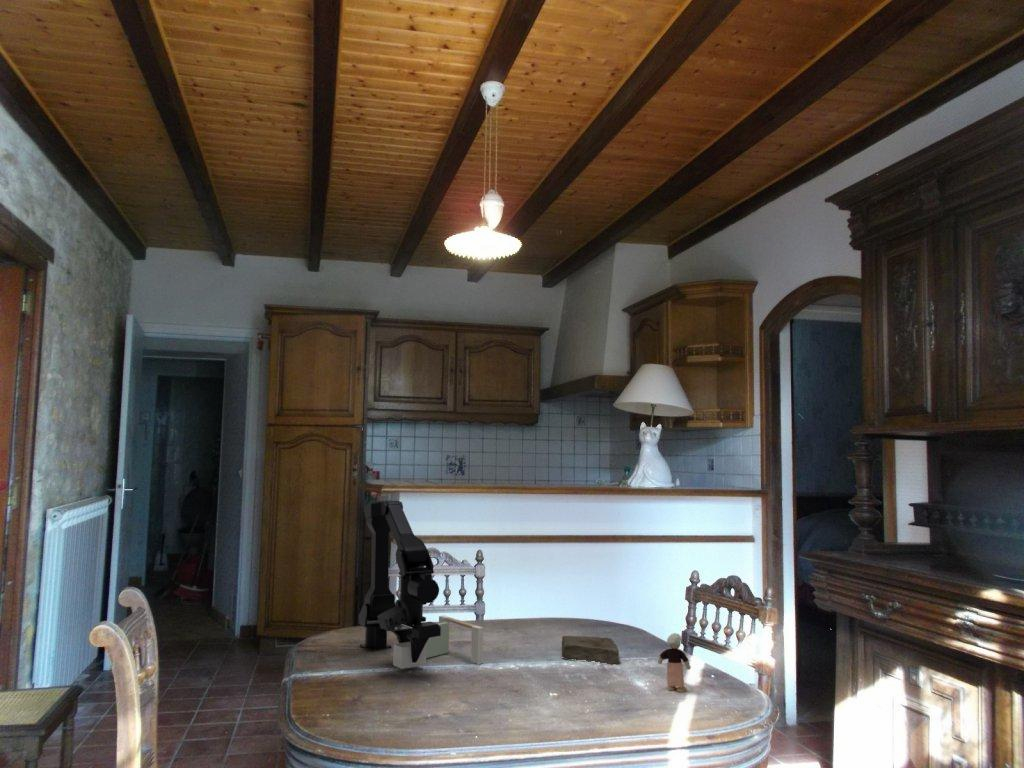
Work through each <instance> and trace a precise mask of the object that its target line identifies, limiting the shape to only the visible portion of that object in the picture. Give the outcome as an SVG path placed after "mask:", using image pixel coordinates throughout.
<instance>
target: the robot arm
mask: <svg viewBox="0 0 1024 768" xmlns="http://www.w3.org/2000/svg"><path fill="white" fill-rule="evenodd" d="M363 509H364V510H363V511H364V512H363V513H364V518H365V523H366V526H367V527H368V529H369V530H370V532H371V552H370V553H371V557H370V559H371V562H370V566H371V567H370V568H371V569H370V587H369V589H368V590H367V592H366V594H365V596H364V602H363V605H362V607H361V610H360V612H359V614H358V616H357V617H358V624H359V625H360V626H361V627H364V628H365V629H364V632H365V633H364V643H361V644H359V647H360V648H363V649H365V650H367V651H370V652H373V651H378V650H379V651H380V650H383V649H384V650H387V649H391V648H392V645H390V644H388V641H387V640H388V632H392V633H393V635H395V636H396V639H397V641H398V644H399V643H405V642H411V655H412V662H413V663H415V662H417V660H418V658H419V656H420V654H421V652H422V650H423V648H424V646H425V644H426V643H427V641H428V639H429V638H431V637H437V636H441V627H440V626H439V625H438V624H439V623H437V622H432V621H427V616H426V617H425V616H424V615H423V614H424V612H423V611H424V609H423V608H424V606H426V605H427V604H430V603H432V602H434V601H435V600H436V599H437V598H438V596H439V594H440V587H439V584H438V582H437V581H436V580H434V579H433V575H434V573H435V571H434V566H435V565H434V563H433V560H432V557H431V554H430V551H429V549H428V548H427V546H426V544H425V542H424V541H423V540H422V539H420V538H419V537H418V536H416V535H415V534H414V531H413V530H412V527H411V525H410V522H409V521H408V518H407V516H406V514H405V511H404V505H403V503H402V501H400V500H390V499H389V500H370V501H369V502H368V504H365V506H364V508H363ZM390 532H391V534H392V536H393V540H394V541H395V543H396V547H397V548H396V551H395V562H396V564H397V566H398V569H399V571H398V576H400V580H399V581H400V582H399V584H400V585H399V598H398V599H396V597H395V594H394V593H392V591H391V589H390V587H389V571H390V570H389V567H390V564H389V562H390Z"/></svg>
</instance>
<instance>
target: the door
mask: <svg viewBox="0 0 1024 768" xmlns="http://www.w3.org/2000/svg"><path fill="white" fill-rule="evenodd" d="M437 624H438V625H439V626H440V627H441V636H437V637H431V638H429V639H428V641H427V643H426V644H427V648H426V659H429V658H432V657H436V656H437V657H438V656H441V655H444V654H448V653H449V651H448V636H449V637H450V622H449V623H448V622H443V623H439V622H438V623H437Z"/></svg>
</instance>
